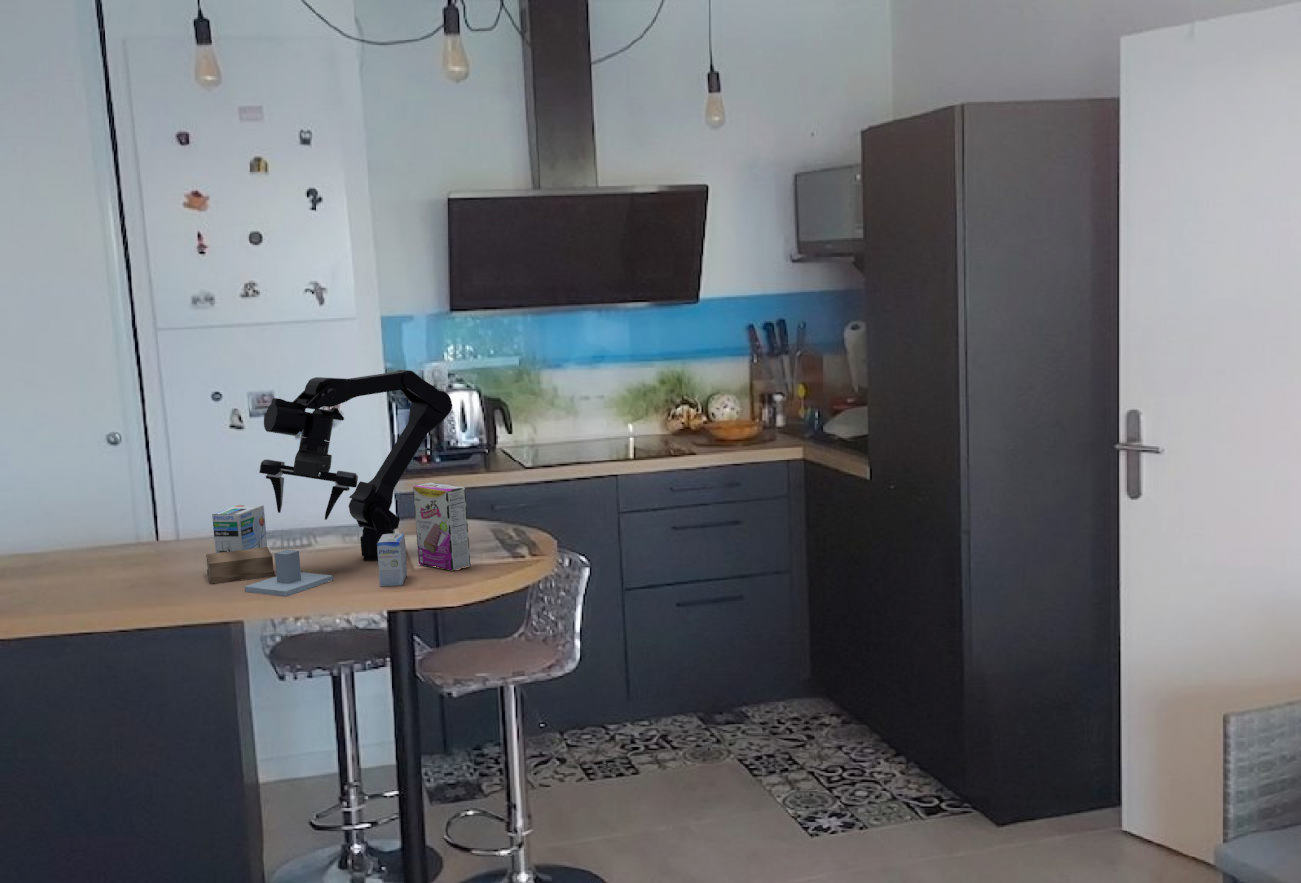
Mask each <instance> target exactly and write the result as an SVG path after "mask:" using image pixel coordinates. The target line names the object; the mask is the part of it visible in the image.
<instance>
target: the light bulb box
mask: <svg viewBox="0 0 1301 883" xmlns="http://www.w3.org/2000/svg"><path fill="white" fill-rule="evenodd" d="M211 517H212V518H211V520H212V528H213V538H214V539H213V540H214V549H215V553H221V552H229V551H238V550H246V549H254V548H263V547H268V540H267V539H268V538H267V529H266V528H267V527H266V518H265V517H266V516H265V506H264V505H263V504H259V505H258V504H257V505H256V504H250V505H249V504H246V505H245V504H237V505H233V506H231V507H229V508H225V509H223V510H220V511H217V512H214V513H212V514H211Z"/></svg>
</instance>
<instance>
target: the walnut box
mask: <svg viewBox="0 0 1301 883" xmlns="http://www.w3.org/2000/svg"><path fill="white" fill-rule="evenodd" d="M205 555H206V556H205V557H206V566H207V569H206V573H207V574H206V575H207V577H208V581H209V584H210V585H213V583H215V584H221V583H227V582H229V583H230V582H237V581H236V580H238V581H242V580H241V579H246V580H251V579H252V580H253V579H259V578H260V577H261V578H267V576H269V577H275V576H274V575H276V571H275V569H274V559H273V555H272V553H271V551H270V549H269V547H268V546H267V547H263V548H254V549H246V550H238V551H229V552H221V553H216V552H215V553H213V552H212V553H207V554H205Z"/></svg>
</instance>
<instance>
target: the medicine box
mask: <svg viewBox="0 0 1301 883" xmlns="http://www.w3.org/2000/svg"><path fill="white" fill-rule="evenodd" d="M405 538H406V537H405V533H395V534H383V535H382V536H381V538H380V540H379V541H378V543H377V551H378V559H377V562H378V564H377V565H378V573H379V574H378V575H379V576H378V577H379V586H380V587H382V588H383V587H399V586H403V585H404V583H405V580H406V577H407V575H408V571H407V570H408V569H407V553H406V552H407V551H406V550H407V549H406V539H405Z"/></svg>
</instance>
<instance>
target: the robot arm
mask: <svg viewBox="0 0 1301 883" xmlns="http://www.w3.org/2000/svg"><path fill="white" fill-rule="evenodd" d="M395 391H401V393H402V395H403V396H404V397H405V398H406V400H407V401H409V402H410V403H411V405H410V409H409V415H408V422H407V424H406V426H405V427H404V429H403V430H402V431H401V434H400V435H399V437H398V439H397V440H396V442H395V443H394V445H393V446H392V448H391V450H390V451H389V453H388V454H387V456H386V457H385V460H384V461H383V463H382V464H381V466H380V467H379V469H378V471H377V472H376V474H375V475H374V477H373V478H372V479H371V480H370V481H369V482H365V481H359V482H358V479H359V476H358V474H357V472H351V471H343V470H337V471H336V472H330V471H331V467H332V458H333V455H332V454H329V449H330V444H331V443H330V442H331V436H332V432H333V425H334V420H335V421H341V422H342V421H345V416H343V414H342V413H341V412H340V410H339V408H337V407H335V406H339V405H341V404H343V403H347V402H348V401H350V400H352V399H354V398H357V397H362V396H370V395H376V394H381V393H389V392H395ZM323 407H327V408H328V407H329V408H330V407H331V408H330V409H329V410H328V409H323ZM306 409H308V410H313V411H312V412H309V411H306ZM452 409H453V403H452V398H451V397H450V395H449V394H448V393H447V392H445V391H444V390H439V389H437V388H436V387H435V386H434V385H432V384H430V382H427V381H426V380H424V378H421V377H420V376H419V375H418V374H417V373H415V371H413V370H409V369H398V370H395V371H391V372H385V373H378V374H370V375H363V376H358V377H351V378H340V377H321V376H319V377H312V378H311V379H309V380H308V382H307V383H306V385H305V388H304V390H303V391H302V392H301V393H300V394H298V396H297V397H296V398H295V399H294V400H293V401H288V400H285V399H282V398H276V397H273V398H271V403H270V405H268V407H267V409H266V412H265V413H264V416H263V427H264V430H265V431H266V432H267V433H274V434H281V435H285V436H286V435H287V436H292V437H295V436H297V435H298V434H299V432H300V433H301V436H300V441H299V445H298V446H299V447H298V451H297V452H296V454H295V457H294V462H293V466H291V465H286V464H285V463H286V462H285V461H281V460H280V461H279V460H274V459H264V460H262V461H261V462H260V466H259V472H258V473H259V474H265V479H267V480H270V482H271V485H272V488H273V491H274V495H275V503H276V509H277V513H278V514H279V513H281V512H282V511H281V510H282V507H283V496H284V487H285V486H284V485H285V477H283V475H289V476H294V477H300V478H301V477H302V478H308V479H313V480H314V479H316V480H321V481H325V482H326V481H327V482H333V483H334V485H333V486H332V488H331V492H330V493H331V494H330V497H329V500H328V503H327V507H326V510H325V512H324V520H325V521H326V520H328V518H329V516H330V515H331V513H332V510H333V509H334V507H335V505H336V503H337V501H338V500H339V499H340V497H341V495H342V494H343V492H344V491H345V492H347V491H350V489H351V488H356V489H355V490H354V492H353V493H352V494H351V495H350V496H349V497H348V498H349V499H350V502H349V503H348V509H349V510H348V511H349V513H350V516H351V517H352V518H353V519H354V520H356V522H357V525H358V527H360V528H363V529H362V534H361V536H360V538H359V540H360V550H361V557H363V561H373V560H375V561H376V560H377V561H378V551H377V543H378V541H379V540H380V538H381V536H382V535H383V534H396V532H395V531H396V529H398V528H399V524H400V517H398V516H397V515H396V514H395V513H393V512H392V511H391V510H390V509H391V507H392V505H393V497H394V491H395V488H396V487H397V485H398V483H399V482H400V479H401V478H402V476H403V475H404V473H405V472H406V470H407V468H408V467H409V465H410V463H411V462H412V460H413V458H414V457H415V456H416V453H417V452H418V450H419V449H420V447H421V445H422V444H423V442H424V440H425V439H426V437H427V436H428V434H429V433H430V432H431V431H433V430H434V429H435V428H436V427H438V426H439V425H441V424H442V423H443V421H444V420H445V419H446V418H447V417H448V416H449V414H450V413H451V411H452Z"/></svg>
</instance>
